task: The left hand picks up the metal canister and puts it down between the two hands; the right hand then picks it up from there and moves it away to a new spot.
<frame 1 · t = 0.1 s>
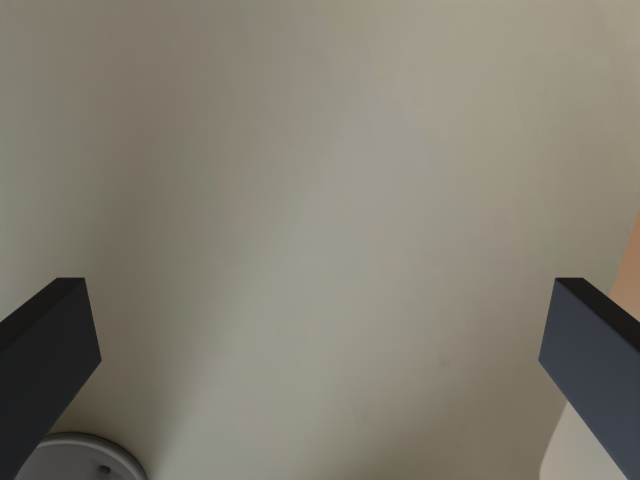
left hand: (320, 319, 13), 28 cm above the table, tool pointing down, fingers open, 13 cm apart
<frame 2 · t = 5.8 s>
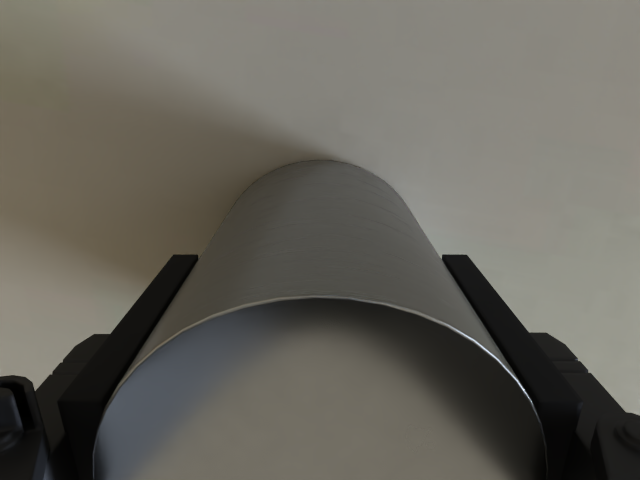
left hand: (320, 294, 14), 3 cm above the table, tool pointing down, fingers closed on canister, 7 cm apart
canister: (320, 259, 17), on the table, touching left hand
when the left hand's fingers open (4 cm above the table, at t = 11.7 s): canister drops 1 cm, on the table.
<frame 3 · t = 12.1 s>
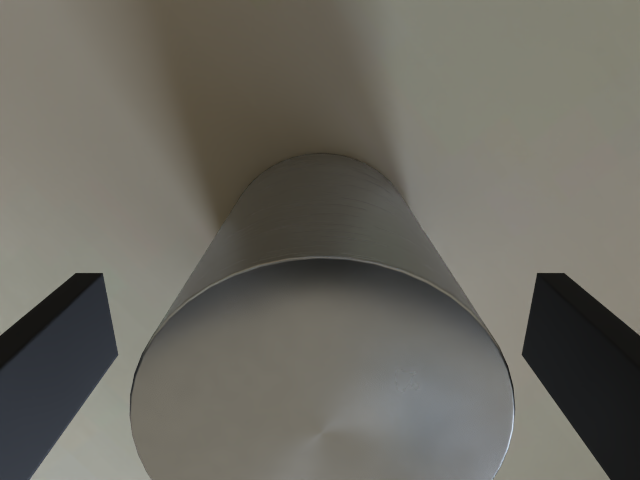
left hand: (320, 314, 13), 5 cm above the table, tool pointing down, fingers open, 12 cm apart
canister: (321, 246, 18), on the table
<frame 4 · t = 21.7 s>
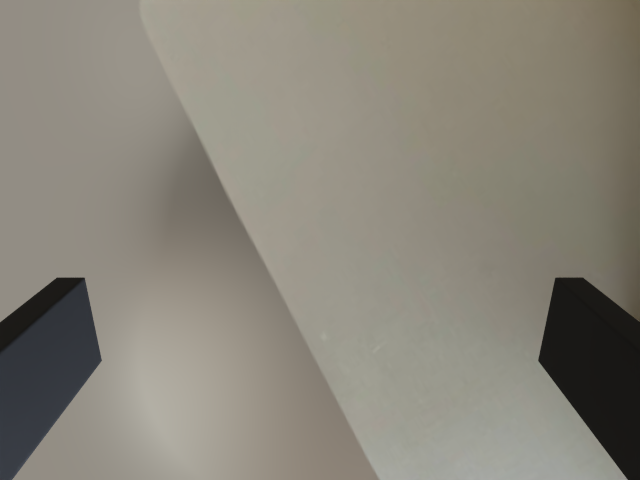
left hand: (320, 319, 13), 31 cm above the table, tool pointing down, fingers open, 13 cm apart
when the right hand's fingers open (4 cm above the table, at t = 31.8 s): canister drops 1 cm, on the table.
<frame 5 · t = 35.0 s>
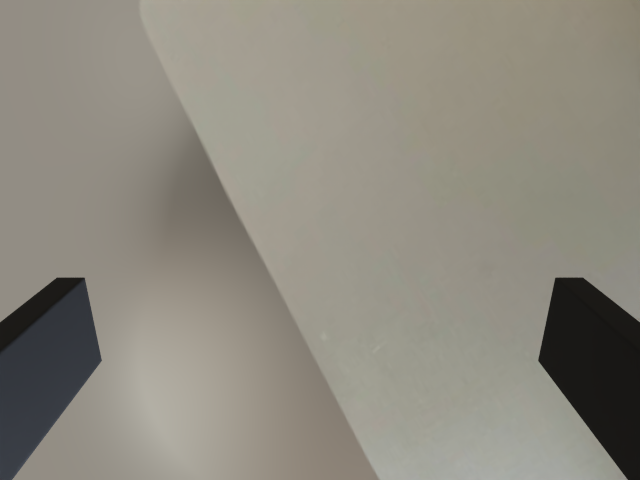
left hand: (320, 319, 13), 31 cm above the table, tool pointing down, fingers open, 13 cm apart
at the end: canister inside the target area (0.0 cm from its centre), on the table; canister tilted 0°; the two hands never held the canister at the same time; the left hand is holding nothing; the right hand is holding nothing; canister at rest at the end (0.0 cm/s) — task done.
